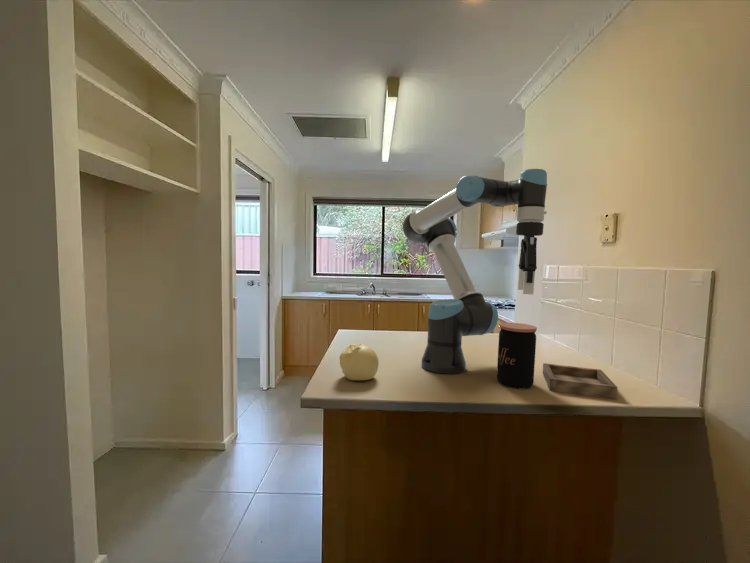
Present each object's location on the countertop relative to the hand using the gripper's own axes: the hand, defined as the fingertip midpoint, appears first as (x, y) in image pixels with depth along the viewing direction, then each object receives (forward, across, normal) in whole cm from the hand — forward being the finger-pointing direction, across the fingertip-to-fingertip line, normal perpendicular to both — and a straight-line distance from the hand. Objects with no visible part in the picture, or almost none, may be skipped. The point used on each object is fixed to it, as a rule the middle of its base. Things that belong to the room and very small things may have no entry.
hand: (524, 292), depth 110 cm
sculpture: (+29, -15, +48) cm, 58 cm away
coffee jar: (+29, -2, +1) cm, 29 cm away
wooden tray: (+28, +3, -17) cm, 33 cm away
